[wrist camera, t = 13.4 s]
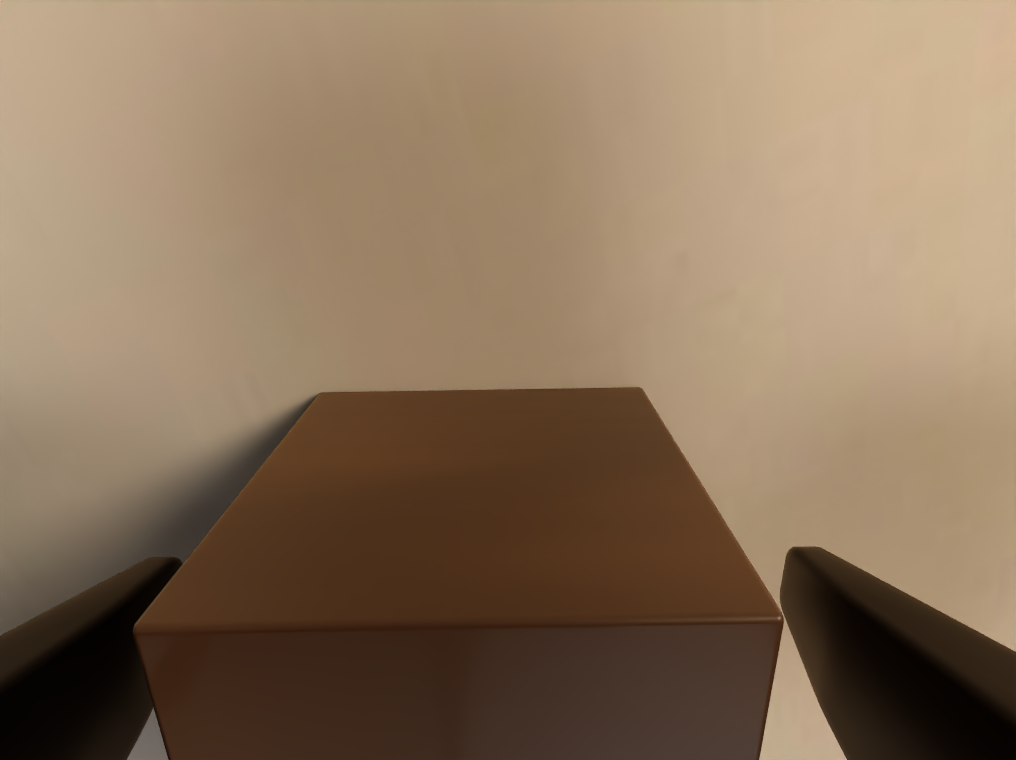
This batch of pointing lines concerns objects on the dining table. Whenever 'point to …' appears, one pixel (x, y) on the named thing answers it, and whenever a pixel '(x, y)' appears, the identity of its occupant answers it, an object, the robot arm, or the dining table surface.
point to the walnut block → (466, 592)
